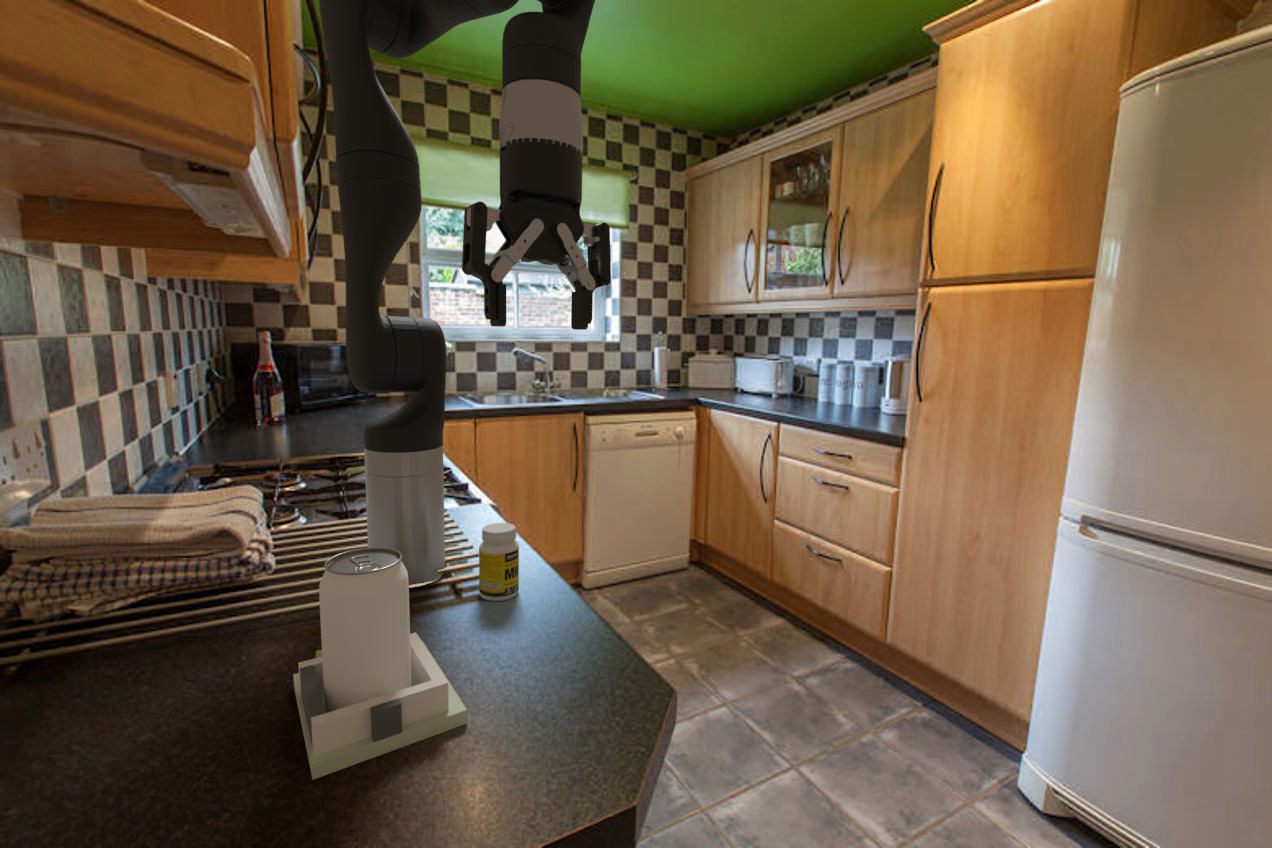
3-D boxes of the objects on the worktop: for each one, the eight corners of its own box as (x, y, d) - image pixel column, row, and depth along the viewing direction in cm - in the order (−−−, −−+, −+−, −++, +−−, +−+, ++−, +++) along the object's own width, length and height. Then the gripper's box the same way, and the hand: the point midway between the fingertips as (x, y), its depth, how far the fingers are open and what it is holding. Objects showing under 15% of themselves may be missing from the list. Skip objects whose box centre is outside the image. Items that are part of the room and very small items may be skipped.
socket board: (293, 687, 50) (291, 648, 50) (422, 651, 57) (421, 617, 56) (312, 779, 40) (310, 732, 40) (467, 723, 46) (466, 682, 46)
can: (333, 735, 43) (326, 582, 41) (318, 693, 48) (311, 555, 46) (421, 704, 47) (418, 563, 45) (399, 668, 52) (395, 540, 50)
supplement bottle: (509, 604, 68) (509, 535, 66) (472, 599, 68) (471, 531, 67) (524, 587, 72) (524, 523, 71) (489, 583, 73) (489, 520, 72)
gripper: (587, 173, 60) (585, 330, 62) (450, 142, 51) (453, 325, 54) (628, 155, 54) (624, 330, 56) (480, 117, 45) (482, 324, 48)
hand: (540, 328), depth 55 cm, fingers open, 8 cm apart
